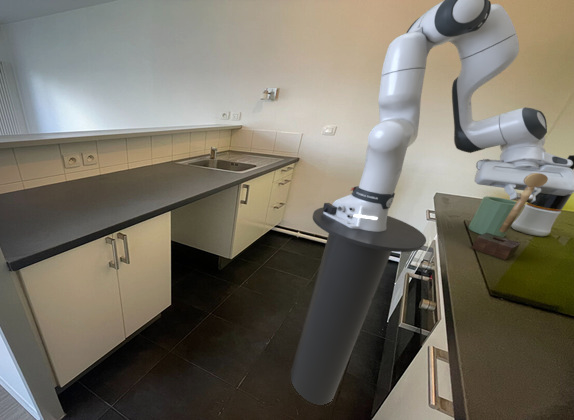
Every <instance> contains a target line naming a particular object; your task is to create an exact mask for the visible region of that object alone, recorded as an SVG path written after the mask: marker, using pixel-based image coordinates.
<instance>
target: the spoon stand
mask: <svg viewBox="0 0 574 420" xmlns="http://www.w3.org/2000/svg"><path fill="white" fill-rule="evenodd" d="M520 245H521V242H519V241H516V240H513V239H509V238H507V237H500V236H496V235H493V234H490V233H484V234H479V235H478V236H477V237H476V238H475V241H474V242H473V244H472V246H471V249H472V250H474V251H477V252H480V253H482V254H485V255H489V256H492V257H495V258H498V259H500V260H503V261H506V260H508V259H510V258H511V257H513V256H514V255H515V254H516V252H517V250H518V248H519V247H520Z"/></svg>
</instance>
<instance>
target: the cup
mask: <svg viewBox="0 0 574 420" xmlns="http://www.w3.org/2000/svg"><path fill="white" fill-rule="evenodd" d="M516 202H517V201H516V200H510V199H508V198H503V197H497V196H488V195H487V196H483V197H482V199H481V202H480V204H479V206H478V207H477V209H476V211H475V214H474V215H473V216H472V219H471V220H470V223H469V224H468V230H469V231H471V232H474V233H476V234H479V235H482V234H484V233H490V234H493V235H496V236H500V237H503V238H505V236H506V235H507V233H508V232H509V230H510V228H511V226H510V227H509V229H508V230H507V232H504V233H503V232H500V231H499V229H500V227H501V226H502V224H503V223H504V221H505V220H506V218H507V216H508V215H509V213H510V212H511V210H512V209H513V207H514V205H515V204H516ZM511 225H512V224H511Z"/></svg>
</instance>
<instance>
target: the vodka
mask: <svg viewBox="0 0 574 420" xmlns="http://www.w3.org/2000/svg"><path fill="white" fill-rule="evenodd" d="M566 159H569V160H571V161H572V162H573V165H572V166H571V167H569V168H571V169H572V170H574V154H572V155H568V157H567V158H566ZM573 194H574V192H572V193H570V194H568V195H565V196H561V195H553V194H546V193H538V194H537V195H536V200H535V201H534V202H532V203H529V202H526V204H524V206H523V208H522V210H521V212H520V213H519V214H518V216H517V217H516V218H515V220H514V221H513V223H512V225H511V226H510V227H511V228H512V229H513V230H514V231H516V232H519V233H522V234H526V235H529V236H534V237H547V236H549V235H550V234H551V231H552V227H553V225H554V223H555V222H556V220H557V218H558V217H559V215H560V214H561V213H562V210H563V209H564V207H565V205H566V204H567V203H568V201H569V199H570V198H571V196H572V195H573Z"/></svg>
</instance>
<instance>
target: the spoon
mask: <svg viewBox="0 0 574 420" xmlns="http://www.w3.org/2000/svg"><path fill="white" fill-rule="evenodd" d="M547 180H548V178H547V176H546V175H544V174H541V173H533V174H530V175H528V176H526V177H525V178H524V183H525V184H526V185H527V187H526V188H525V190H522V193H521V199H519V200H518V201H516V204H515V205H514V207H513V209H512V210H511V212H510V213H509V215H508V216H507V218H506V220H505V221H504V223H503V224H502V226H501V227H500V229H499V231H500V232H503V233H504V232H507V233H508V231H509V230H510V228H511V227H512V226H511V224H512V223H513V222H514V221H515V220H516V219H517V218H518V216H519V215H520V213H521V211H522V210H523V208H524V207H525V205H526V204H527V202H526V201H527V200H528V198H529V197H530V195H531V194H532V192H533V191H534V189H535V188H534V187H539V186H542V185H544V184H545V183H546V182H547ZM509 227H510V228H509ZM508 229H509V230H508ZM507 230H508V231H507Z"/></svg>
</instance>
